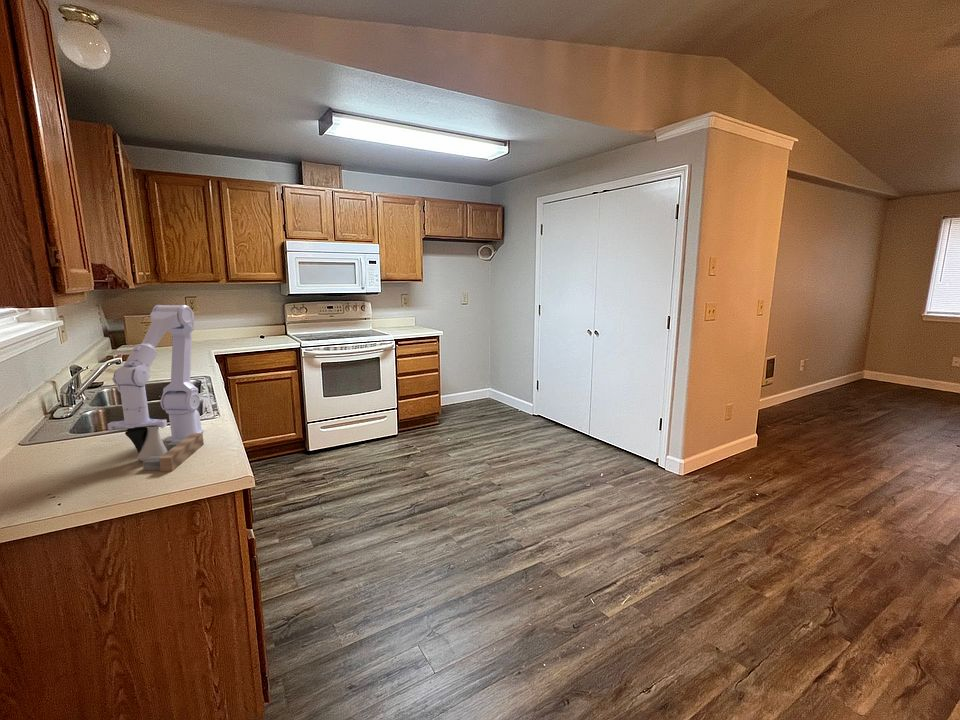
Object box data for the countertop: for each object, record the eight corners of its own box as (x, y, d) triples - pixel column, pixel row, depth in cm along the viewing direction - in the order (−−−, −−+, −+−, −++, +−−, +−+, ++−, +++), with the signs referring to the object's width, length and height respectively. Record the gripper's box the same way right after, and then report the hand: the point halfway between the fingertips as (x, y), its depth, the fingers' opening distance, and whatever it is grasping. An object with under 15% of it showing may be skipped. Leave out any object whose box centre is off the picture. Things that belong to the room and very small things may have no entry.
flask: (174, 454, 135) (174, 423, 133) (153, 464, 128) (152, 431, 126) (153, 450, 136) (152, 419, 134) (131, 459, 129) (130, 427, 127)
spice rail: (176, 445, 142) (174, 433, 141) (203, 444, 143) (202, 432, 142) (140, 472, 123) (138, 459, 122) (172, 471, 124) (170, 457, 123)
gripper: (97, 412, 123) (104, 458, 126) (155, 410, 126) (161, 455, 128) (113, 405, 130) (120, 448, 133) (168, 403, 133) (173, 446, 135)
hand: (141, 451), depth 131 cm, fingers closed
